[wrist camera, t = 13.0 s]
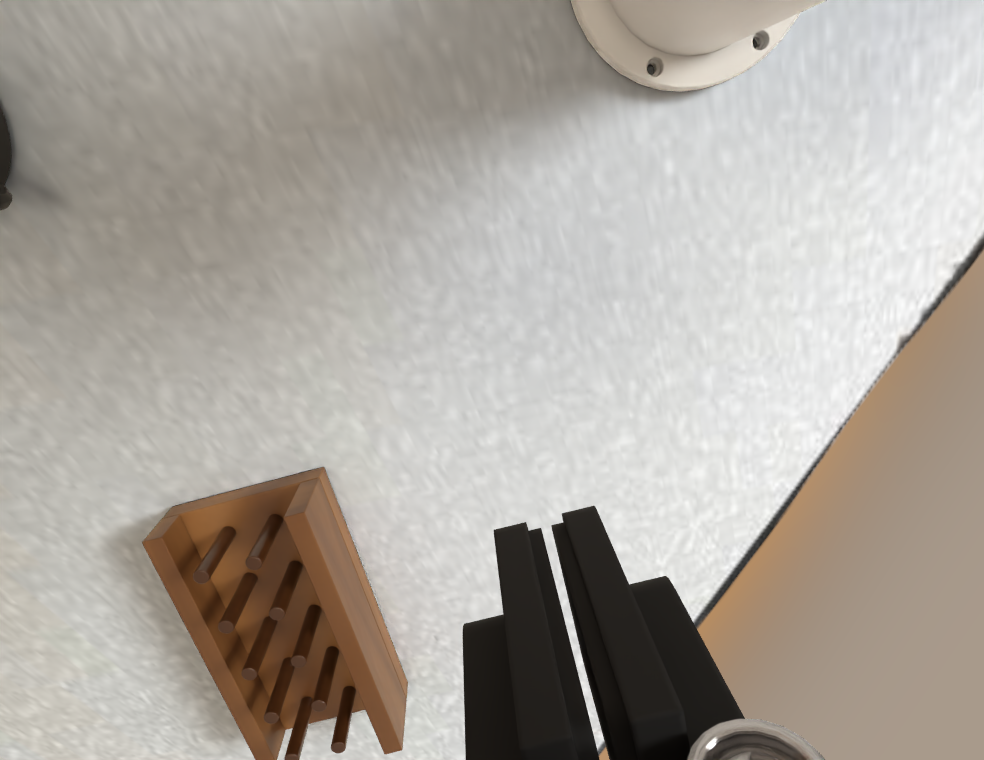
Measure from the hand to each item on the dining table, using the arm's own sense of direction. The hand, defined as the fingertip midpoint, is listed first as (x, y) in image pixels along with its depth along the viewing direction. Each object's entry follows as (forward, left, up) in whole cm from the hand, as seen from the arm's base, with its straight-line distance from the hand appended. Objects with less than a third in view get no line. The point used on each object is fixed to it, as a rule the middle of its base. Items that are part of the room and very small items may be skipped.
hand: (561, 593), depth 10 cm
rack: (+17, +17, -27) cm, 36 cm away
